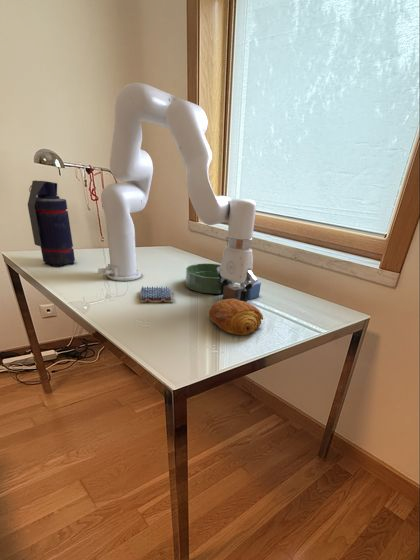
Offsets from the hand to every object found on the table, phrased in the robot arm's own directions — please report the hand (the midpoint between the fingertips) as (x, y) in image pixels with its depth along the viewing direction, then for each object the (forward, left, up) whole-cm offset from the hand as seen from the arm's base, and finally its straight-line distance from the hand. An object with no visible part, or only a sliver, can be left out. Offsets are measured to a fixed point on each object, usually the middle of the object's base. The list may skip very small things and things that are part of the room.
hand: (233, 297), depth 106 cm
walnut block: (0, 0, -1) cm, 1 cm away
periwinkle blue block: (+8, 0, -1) cm, 9 cm away
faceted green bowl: (+4, +15, -1) cm, 16 cm away
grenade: (-30, +70, -1) cm, 76 cm away
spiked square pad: (-19, +17, -1) cm, 26 cm away
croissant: (-13, -13, -1) cm, 18 cm away
